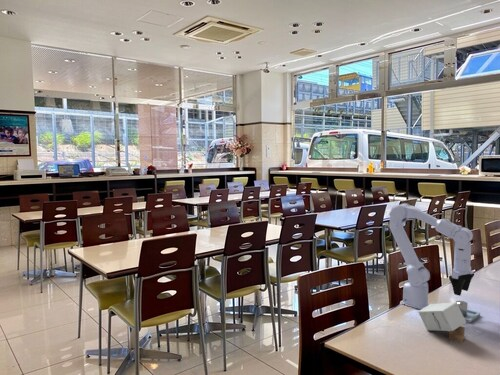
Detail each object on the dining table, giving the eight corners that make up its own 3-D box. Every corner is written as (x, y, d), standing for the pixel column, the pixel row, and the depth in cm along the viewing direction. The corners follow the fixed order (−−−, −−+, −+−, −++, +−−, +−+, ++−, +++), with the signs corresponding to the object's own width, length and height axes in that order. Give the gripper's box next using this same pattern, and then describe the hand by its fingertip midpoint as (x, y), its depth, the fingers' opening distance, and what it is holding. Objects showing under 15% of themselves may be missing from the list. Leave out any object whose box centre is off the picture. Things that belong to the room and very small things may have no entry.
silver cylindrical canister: (454, 314, 151) (454, 302, 151) (458, 311, 154) (458, 299, 153) (464, 317, 148) (465, 305, 148) (468, 314, 150) (469, 302, 150)
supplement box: (416, 311, 140) (442, 310, 129) (430, 303, 143) (457, 301, 131) (426, 330, 138) (452, 331, 127) (440, 322, 141) (467, 322, 130)
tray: (441, 315, 151) (441, 312, 151) (451, 308, 158) (451, 305, 158) (470, 323, 144) (470, 320, 143) (480, 315, 150) (480, 312, 150)
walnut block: (449, 339, 131) (449, 328, 131) (451, 335, 135) (451, 324, 134) (462, 342, 129) (462, 331, 129) (464, 338, 132) (464, 327, 132)
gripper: (466, 264, 141) (465, 299, 143) (479, 257, 151) (478, 290, 152) (446, 260, 147) (445, 294, 148) (460, 254, 156) (459, 286, 157)
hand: (461, 292), depth 150 cm, fingers open, 7 cm apart
